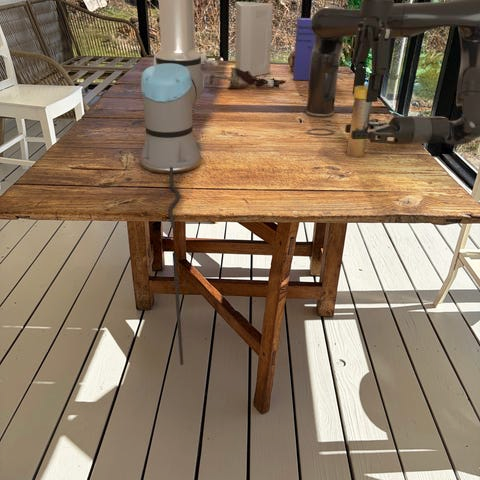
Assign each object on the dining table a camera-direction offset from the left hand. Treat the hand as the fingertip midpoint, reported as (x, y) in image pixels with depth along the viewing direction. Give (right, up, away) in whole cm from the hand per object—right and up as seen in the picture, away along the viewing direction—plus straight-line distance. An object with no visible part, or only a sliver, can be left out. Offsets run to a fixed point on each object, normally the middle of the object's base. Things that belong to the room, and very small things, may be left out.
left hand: (364, 97), depth 123 cm
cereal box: (0, +33, +84) cm, 90 cm away
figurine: (-29, +24, +69) cm, 79 cm away
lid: (0, +2, -1) cm, 2 cm away
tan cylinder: (0, -13, +8) cm, 15 cm away
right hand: (-3, -8, +4) cm, 9 cm away
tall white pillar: (-26, +40, +95) cm, 106 cm away
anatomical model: (-6, +43, +101) cm, 110 cm away
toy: (-57, +45, +102) cm, 125 cm away
